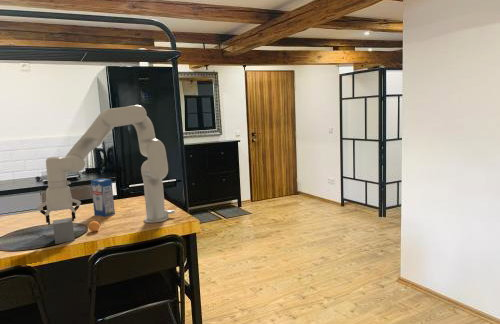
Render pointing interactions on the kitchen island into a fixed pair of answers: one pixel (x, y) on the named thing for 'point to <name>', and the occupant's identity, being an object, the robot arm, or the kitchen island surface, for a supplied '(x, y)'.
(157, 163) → the robot arm
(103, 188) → the milk carton
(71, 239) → the gray cube
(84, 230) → the kitchen island surface
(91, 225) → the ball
